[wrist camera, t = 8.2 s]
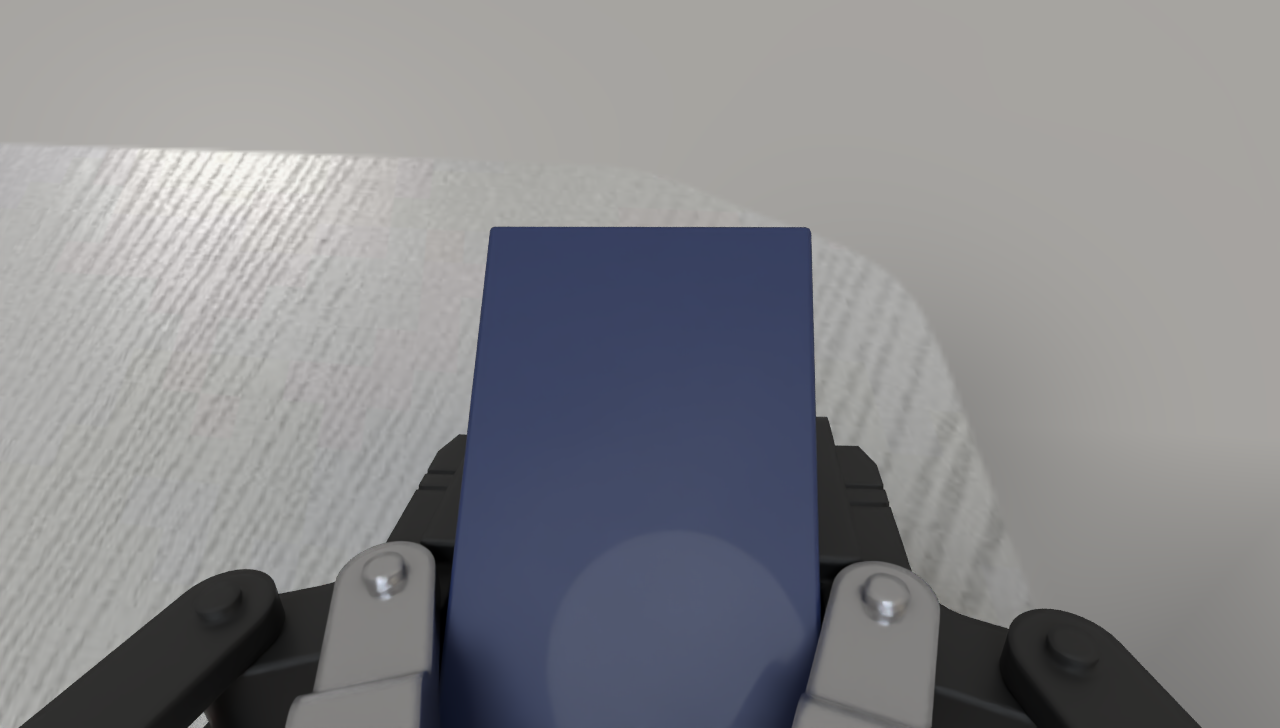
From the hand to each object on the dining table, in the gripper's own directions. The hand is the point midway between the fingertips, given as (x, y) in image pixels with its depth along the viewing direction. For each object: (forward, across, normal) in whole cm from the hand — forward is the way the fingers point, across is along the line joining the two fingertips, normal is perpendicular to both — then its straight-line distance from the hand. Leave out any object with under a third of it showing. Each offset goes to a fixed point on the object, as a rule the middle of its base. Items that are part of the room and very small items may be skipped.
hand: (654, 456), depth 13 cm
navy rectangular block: (+4, 0, +7) cm, 8 cm away
